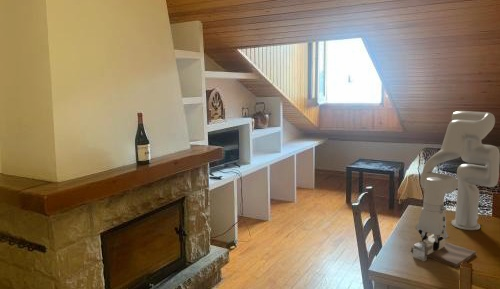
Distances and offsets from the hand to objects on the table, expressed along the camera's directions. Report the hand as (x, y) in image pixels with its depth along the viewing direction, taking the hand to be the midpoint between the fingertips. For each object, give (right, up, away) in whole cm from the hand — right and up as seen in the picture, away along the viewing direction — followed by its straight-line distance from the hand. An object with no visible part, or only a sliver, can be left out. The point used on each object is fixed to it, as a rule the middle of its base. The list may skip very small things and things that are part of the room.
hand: (430, 247), depth 163 cm
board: (+6, -2, 0) cm, 6 cm away
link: (+1, -1, +1) cm, 1 cm away
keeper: (-5, -3, -3) cm, 7 cm away
